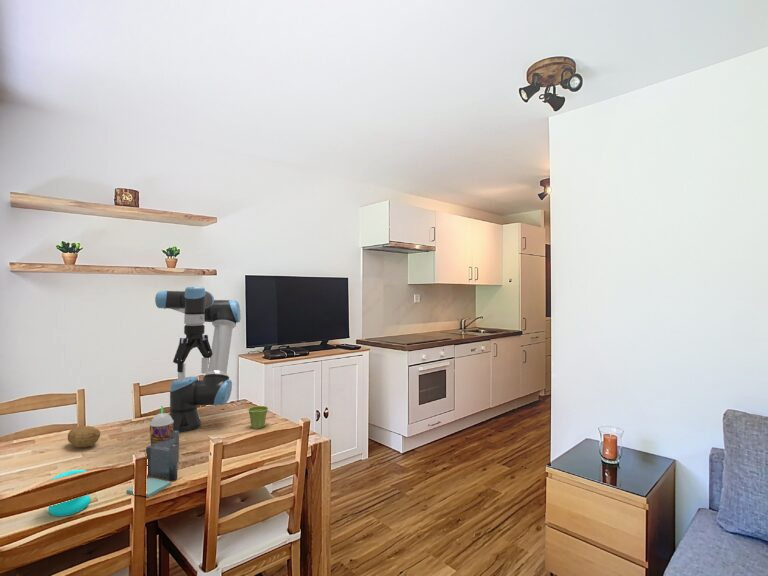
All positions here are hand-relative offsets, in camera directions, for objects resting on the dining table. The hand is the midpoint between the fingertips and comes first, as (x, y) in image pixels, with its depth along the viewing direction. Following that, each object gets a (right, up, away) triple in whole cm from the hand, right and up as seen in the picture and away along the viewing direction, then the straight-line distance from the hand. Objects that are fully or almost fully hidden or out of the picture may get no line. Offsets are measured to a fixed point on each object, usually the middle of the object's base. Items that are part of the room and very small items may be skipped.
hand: (193, 376), depth 167 cm
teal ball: (-16, -30, -44) cm, 56 cm away
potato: (-47, -30, +3) cm, 56 cm away
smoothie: (-10, -30, -7) cm, 32 cm away
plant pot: (+17, -31, +30) cm, 46 cm away
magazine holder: (+1, -30, -18) cm, 35 cm away
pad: (0, -30, -32) cm, 44 cm away
